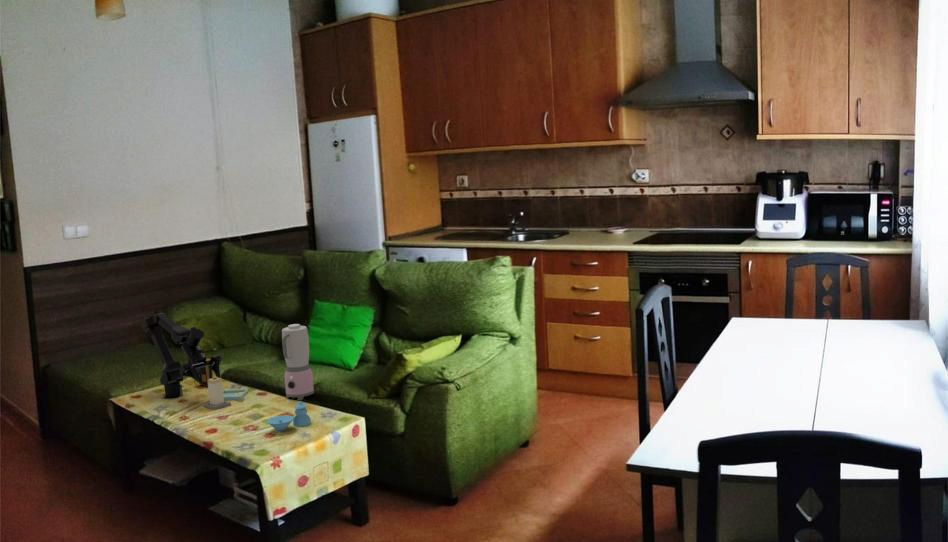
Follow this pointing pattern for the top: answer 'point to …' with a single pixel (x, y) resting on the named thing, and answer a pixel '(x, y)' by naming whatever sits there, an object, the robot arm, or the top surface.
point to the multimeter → (205, 372)
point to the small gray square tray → (217, 406)
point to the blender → (297, 361)
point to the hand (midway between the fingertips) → (210, 380)
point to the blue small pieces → (291, 418)
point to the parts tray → (232, 396)
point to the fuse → (215, 391)
